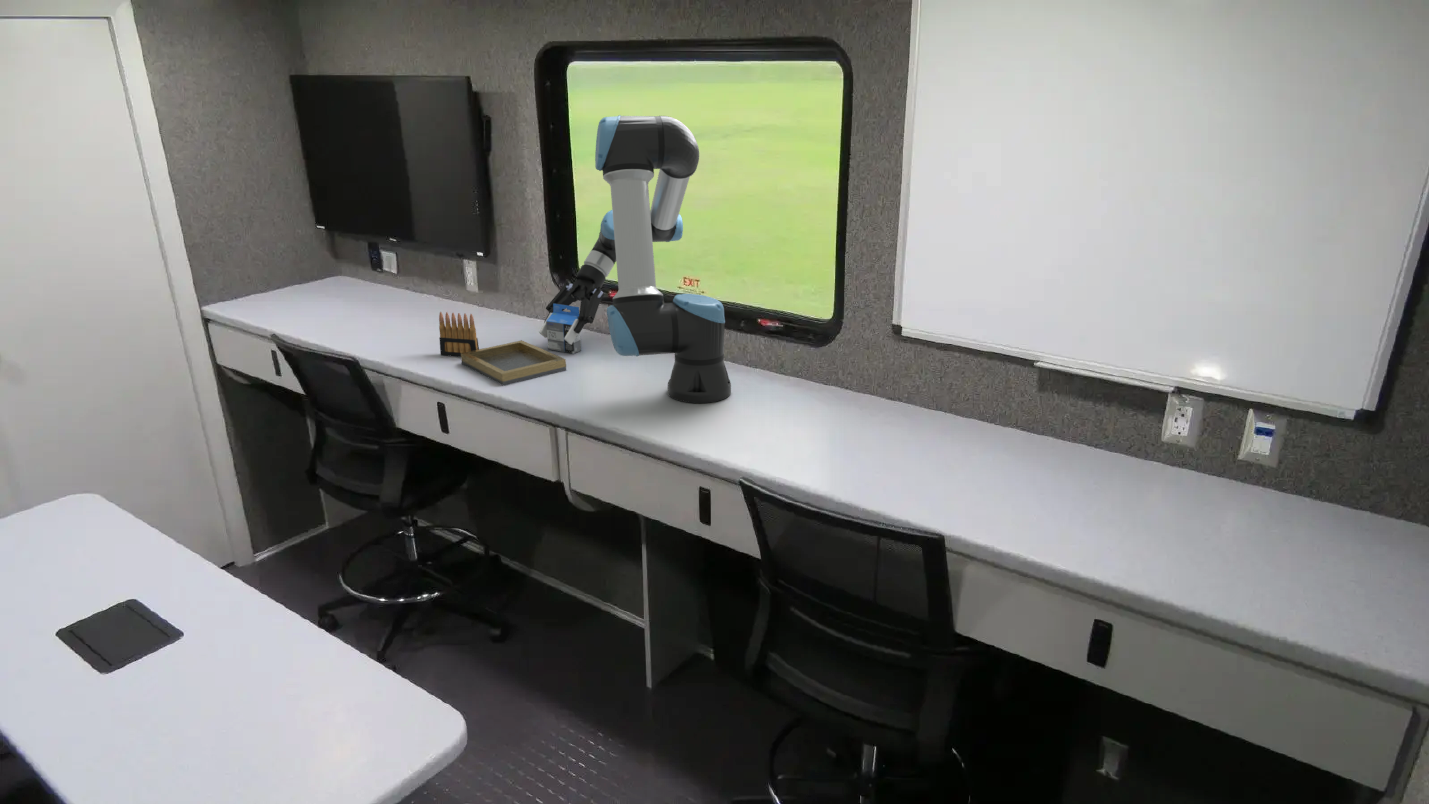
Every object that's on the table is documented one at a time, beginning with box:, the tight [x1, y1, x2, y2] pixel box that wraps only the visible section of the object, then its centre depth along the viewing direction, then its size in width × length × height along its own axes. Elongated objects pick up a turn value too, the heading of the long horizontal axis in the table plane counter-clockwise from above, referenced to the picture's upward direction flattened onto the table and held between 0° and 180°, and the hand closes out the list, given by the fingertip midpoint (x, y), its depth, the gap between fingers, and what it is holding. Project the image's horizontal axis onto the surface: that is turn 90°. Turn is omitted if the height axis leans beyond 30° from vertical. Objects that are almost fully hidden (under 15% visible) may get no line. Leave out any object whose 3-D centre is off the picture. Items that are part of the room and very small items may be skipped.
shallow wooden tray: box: [460, 340, 567, 386], centre depth 220 cm, size 22×18×3 cm
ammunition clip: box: [438, 311, 480, 358], centre depth 228 cm, size 11×2×12 cm, turn 78°
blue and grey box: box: [546, 303, 582, 355], centre depth 233 cm, size 9×4×12 cm, turn 64°
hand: (555, 338), depth 231 cm, fingers closed on blue and grey box, 9 cm apart
